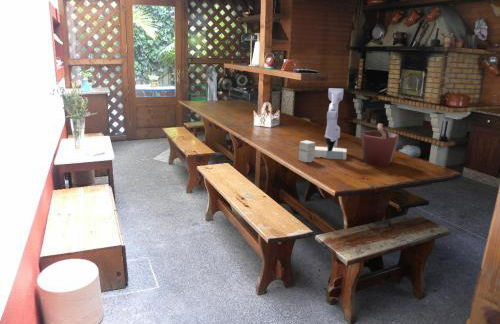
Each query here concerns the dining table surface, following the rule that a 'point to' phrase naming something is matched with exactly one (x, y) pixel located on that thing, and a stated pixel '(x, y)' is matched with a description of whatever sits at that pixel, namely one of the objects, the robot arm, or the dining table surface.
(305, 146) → the supplement box
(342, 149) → the carton
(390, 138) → the bucket
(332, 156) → the flap
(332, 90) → the robot arm
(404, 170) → the dining table surface
